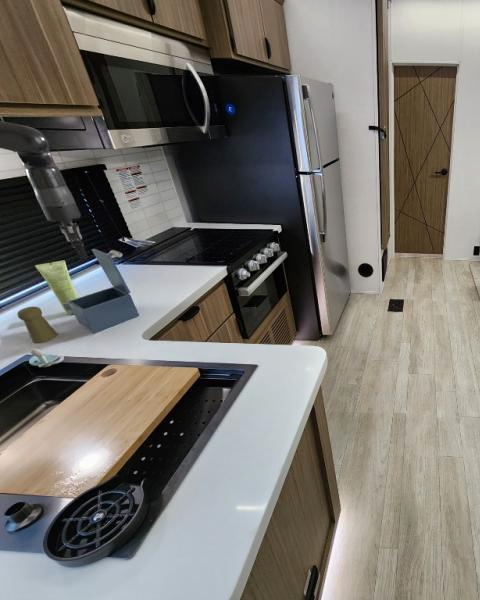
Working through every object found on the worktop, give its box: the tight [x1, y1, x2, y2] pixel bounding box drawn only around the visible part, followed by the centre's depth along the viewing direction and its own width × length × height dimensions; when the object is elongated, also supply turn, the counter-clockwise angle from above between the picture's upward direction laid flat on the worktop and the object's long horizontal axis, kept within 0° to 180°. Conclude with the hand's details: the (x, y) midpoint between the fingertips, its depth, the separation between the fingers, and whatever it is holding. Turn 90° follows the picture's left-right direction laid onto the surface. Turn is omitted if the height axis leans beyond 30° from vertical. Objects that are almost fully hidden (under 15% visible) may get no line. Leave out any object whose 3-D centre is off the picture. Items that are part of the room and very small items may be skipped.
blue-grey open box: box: [67, 286, 140, 335], centre depth 116 cm, size 14×13×9 cm
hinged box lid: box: [91, 248, 131, 294], centre depth 117 cm, size 14×13×5 cm
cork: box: [17, 306, 58, 344], centre depth 106 cm, size 6×6×11 cm
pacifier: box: [28, 347, 65, 368], centre depth 95 cm, size 7×6×6 cm
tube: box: [34, 260, 79, 315], centre depth 119 cm, size 6×5×20 cm
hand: (82, 255), depth 104 cm, fingers open, 8 cm apart
